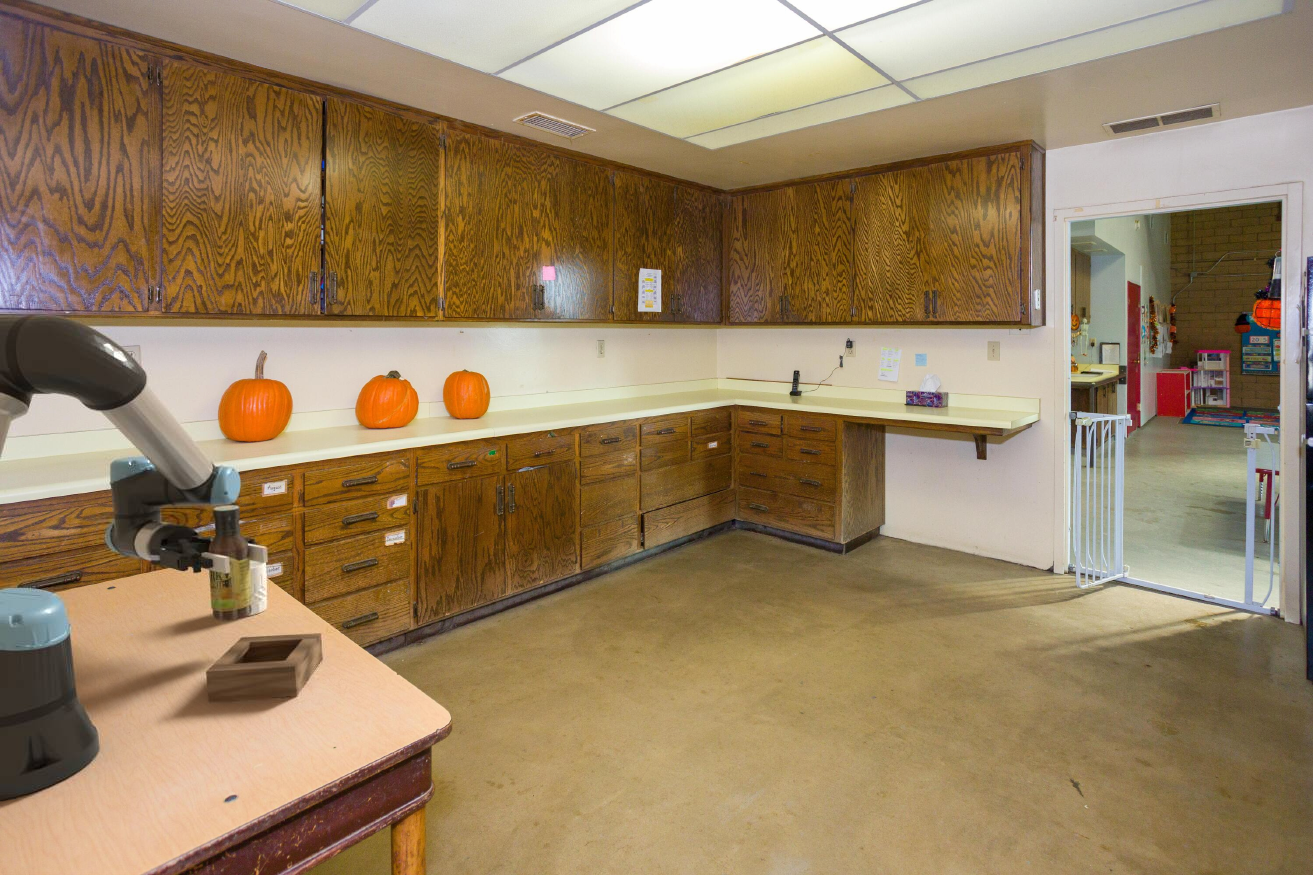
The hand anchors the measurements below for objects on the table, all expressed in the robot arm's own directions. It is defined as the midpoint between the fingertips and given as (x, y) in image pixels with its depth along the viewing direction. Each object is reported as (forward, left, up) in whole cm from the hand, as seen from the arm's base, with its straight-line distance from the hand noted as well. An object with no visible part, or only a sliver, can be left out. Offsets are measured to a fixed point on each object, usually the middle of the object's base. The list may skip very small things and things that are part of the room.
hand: (246, 559), depth 127 cm
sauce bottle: (+3, +4, -11) cm, 12 cm away
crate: (-9, -6, -18) cm, 21 cm away
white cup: (+24, +10, -18) cm, 31 cm away
